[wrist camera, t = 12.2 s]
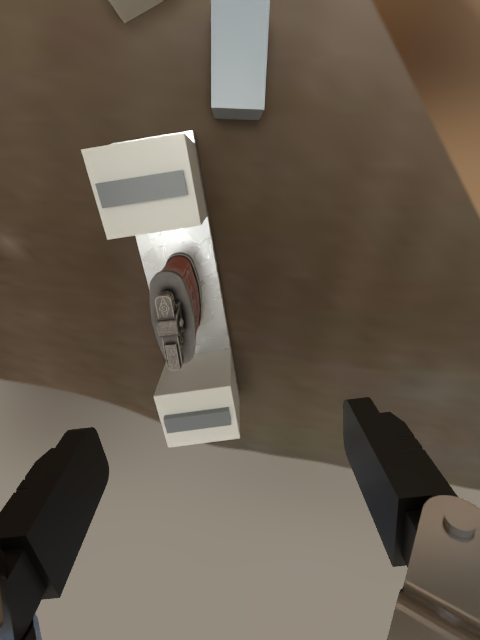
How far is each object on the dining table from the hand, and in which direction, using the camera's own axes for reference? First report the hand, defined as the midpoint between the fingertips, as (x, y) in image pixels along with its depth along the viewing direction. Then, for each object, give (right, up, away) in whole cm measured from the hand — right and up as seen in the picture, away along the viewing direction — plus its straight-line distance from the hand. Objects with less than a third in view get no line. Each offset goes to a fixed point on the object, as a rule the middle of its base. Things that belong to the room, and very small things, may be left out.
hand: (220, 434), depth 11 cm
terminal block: (0, +25, +18) cm, 30 cm away
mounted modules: (-5, +6, +23) cm, 24 cm away
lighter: (-5, +7, +23) cm, 24 cm away
